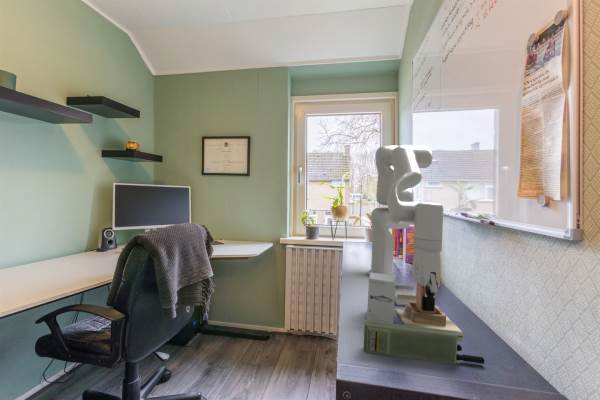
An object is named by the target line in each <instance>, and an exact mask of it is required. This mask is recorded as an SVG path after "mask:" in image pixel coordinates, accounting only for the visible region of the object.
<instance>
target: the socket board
mask: <svg viewBox="0 0 600 400" xmlns="http://www.w3.org/2000/svg"><path fill="white" fill-rule="evenodd" d="M395 313H396V314H397V315H398V317H399V319H400V320H401V323H402V325H408V326H416V327H425V328H434V329H443V330H452V331H459V332H461V334H462V335H461V336H460V337H463V336H464V335H463V334H464V332H463V331H462V330H461V329H460V328H459V327H458V326H457V325H456V323H454V322H453V321H452V320H451V319H450V318H449V317H448V316H447V314H446V313H445V312H444V311H442V309H441V308H440V307H439V306H438V305H436V304H435V313H430V312H420V311H419V310H418V308H417V307H416V302H406V303H405V306H404V309H402V308H396V309H395Z"/></svg>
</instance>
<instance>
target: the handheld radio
mask: <svg viewBox="0 0 600 400" xmlns="http://www.w3.org/2000/svg"><path fill="white" fill-rule="evenodd" d="M363 331H364V332H363V333H364V334H363V350H364V351H363V352H365V353H367V354H368V353H369V354H375V355H384V356H390V357H391V356H392V357H399V358H405V359H413V360H421V361H427V362H434V363H435V362H436V363H442V364H450V365H456V364H461V363H460V361H462V362H468V363H475V364H482V365H484V364H485V359H484V357H483V356H477V355H469V354H459V353H457V352H461V351H462V350H463V348H462V346H461V345H460V344H458V342H462V336H461V335H462V334H461V332H459V331H452V330H443V329H434V328H425V327H416V326H408V325H404V324H398V323H397V324H395V323H394V324H390V323H381V322H372V321H367V320H364V329H363Z"/></svg>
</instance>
